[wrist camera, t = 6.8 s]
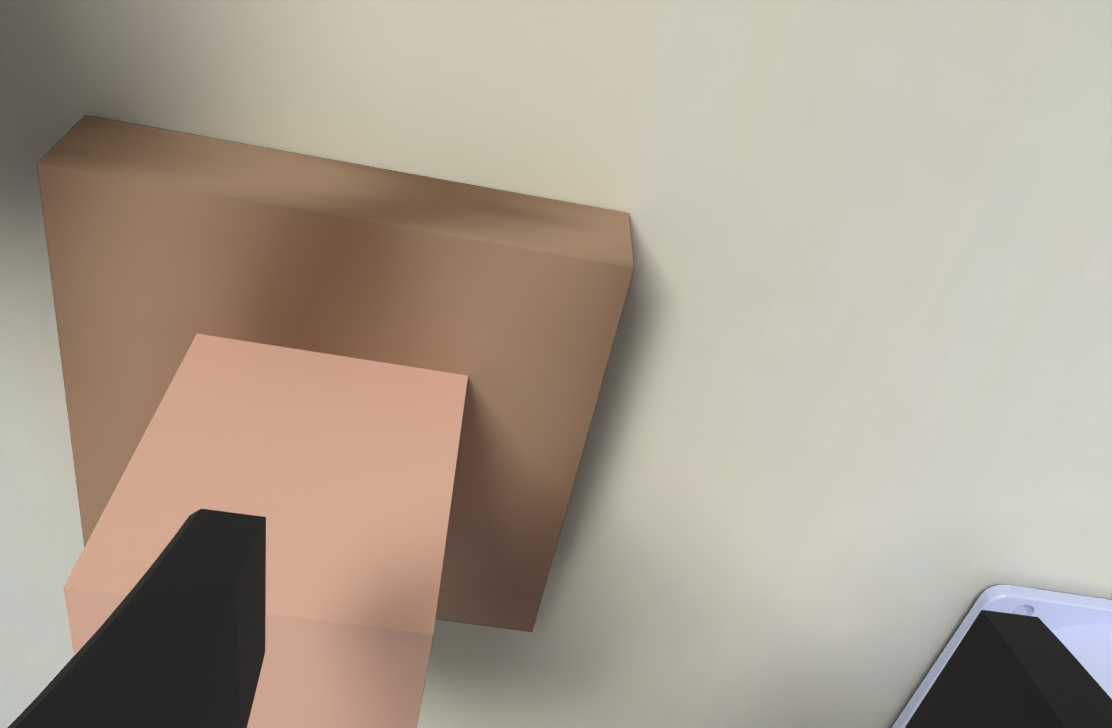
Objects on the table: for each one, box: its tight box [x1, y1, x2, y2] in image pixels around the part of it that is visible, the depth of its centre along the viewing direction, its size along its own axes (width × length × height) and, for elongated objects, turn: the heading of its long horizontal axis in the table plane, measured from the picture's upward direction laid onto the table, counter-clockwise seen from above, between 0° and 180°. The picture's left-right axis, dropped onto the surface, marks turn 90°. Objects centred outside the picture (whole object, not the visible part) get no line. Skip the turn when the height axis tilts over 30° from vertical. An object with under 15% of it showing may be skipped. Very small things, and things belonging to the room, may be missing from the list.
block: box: [64, 334, 468, 728], centre depth 18 cm, size 5×5×6 cm
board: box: [37, 115, 634, 632], centre depth 21 cm, size 10×10×2 cm
